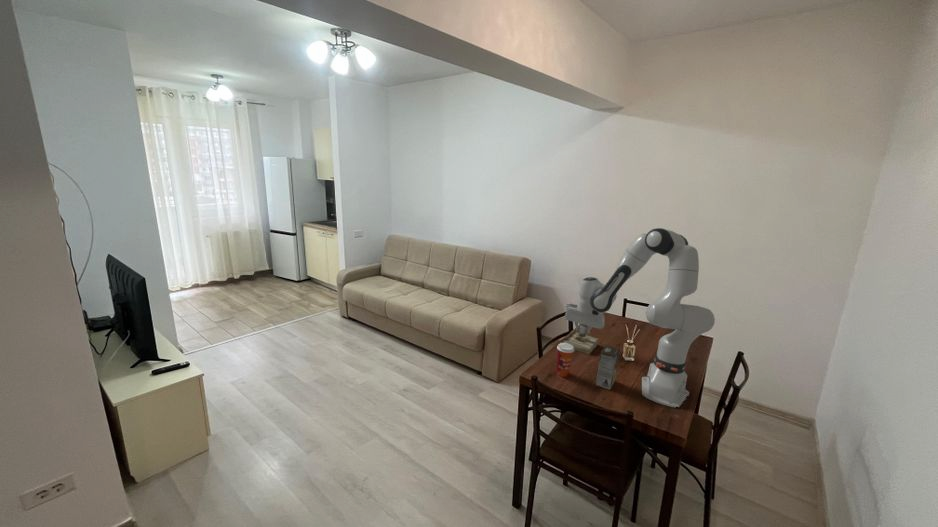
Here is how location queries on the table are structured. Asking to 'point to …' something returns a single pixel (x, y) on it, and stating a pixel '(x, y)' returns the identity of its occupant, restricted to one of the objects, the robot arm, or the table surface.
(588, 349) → the block
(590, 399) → the table surface
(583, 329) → the bushing
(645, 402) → the table surface
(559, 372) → the paper cup
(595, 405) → the table surface
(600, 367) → the coffee box
